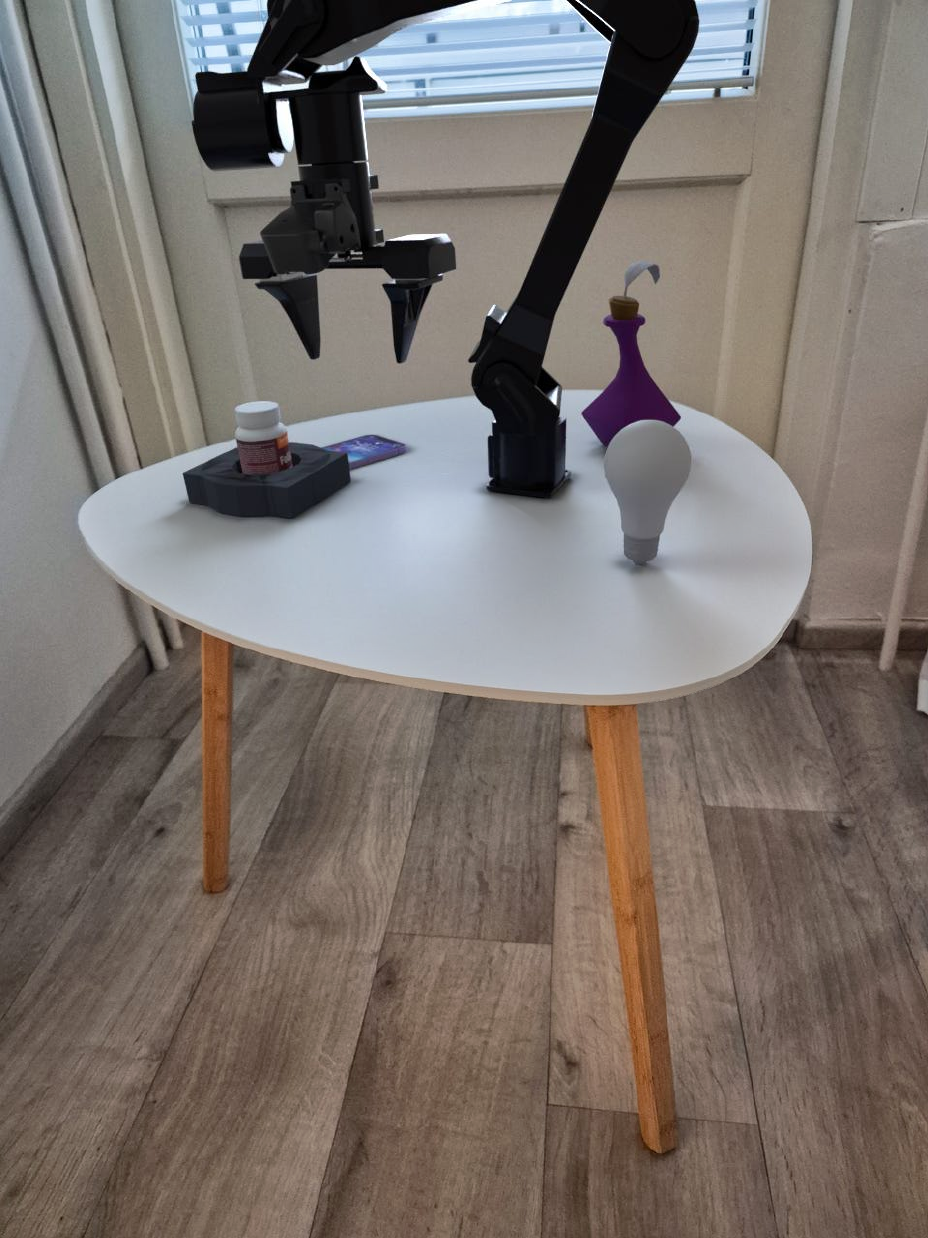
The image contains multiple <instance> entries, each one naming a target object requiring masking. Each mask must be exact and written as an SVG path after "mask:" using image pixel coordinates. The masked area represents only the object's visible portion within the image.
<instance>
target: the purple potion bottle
mask: <svg viewBox="0 0 928 1238" xmlns="http://www.w3.org/2000/svg"><path fill="white" fill-rule="evenodd" d="M646 270H647V271H648V272H649V274H650V275H651V278H652V280H653V282H654V284H655V285H656V284H657V283H658V282H659V279H660V277H661V272H660V267H659V264H655V263H653V262H649V261H635V262H633V263H631V264H630V265H629V266H627V268H626V270H625V273H624V277H623V278H624V291H623V295H612V296H611V297H610V298H609V299H608V304H609V310H610V314H608V315H606V316H605V317H604V318H603V321H602V323H603V325H604V326H605V327H607V328H610V330H611V332H612V334H613V335H614V336H615V339H616V342H617V344H618V351H619V367H618V370H617V372H616V374H615V377H614V378H613V379H612V380H611V382H610V383H609V384H608V385H607V386H606V388H605V389H603V391H602V392H601V393H600V394H599V395H598V396H597V397H596V398H595V399H594V400H593V401H592V402H591V403H589V404H588V405H587V407H585V408H584V409H583V410H582V411H581V412H580V413H581V416H582V417H583V419H584V420H585V422H586V423H587V425H588V426H589V428H590V429H591V430H592V432H593V433H594V435H595V436H596V438H597V439H598V440H599V442H600V443H601V445H604V446H606V447H608V446H609V444H610V442H611V440H612V439H613V438H614V436H615V435H616V434H617V433H618V432H619V431H620V430H621V429H623V428H624V427H626V426H628V425H629V424H632V423H634V422H637V421H641V420H658V421H662V422H665V423H667V424H669V425H671V426H673V427H674V428H675V426H676V425H677V424H678V423H679V422H680V420H681V419H682V416H681V414H680V413H679V412H678V410H677V409H676V408H675V407H674V405H673V404H672V402H671V401H670V400H669V399H668V398H667V396H666V395H665V394H664V392H663V391H662V390H661V388H660V387H659V386H658V385H657V383H656V382H655V380H654V379H653V377H652V376H651V375H650V373H649V371H648V369H647V367H646V365H645V363H644V360H643V357H642V355H641V351H640V347H639V343H638V332H639V330H640V327H641V326H644V325H645V324H646V317H645V316H644V315H642V314H639V309H640V302H639V301H638V300H637V299H636V298H634V297H632V296H627V293H628V288H629V286H630V285H632V284H633V282H634V281H635V280H636V279H637V278H638V277H640V276H641V274H642V273H643V272H644V271H646Z"/></svg>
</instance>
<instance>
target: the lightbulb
mask: <svg viewBox="0 0 928 1238" xmlns="http://www.w3.org/2000/svg"><path fill="white" fill-rule="evenodd" d="M691 470H692V453H691V449H690V445H689V444H688V442H687V440H686V438H685V437H684V435H683V434H682V433H681V432H680V430H678V429H677V428H675V426H674V427H673V426H671V425H669V424H667V423H665V422H662V421H658V420H641V421H637V422H634V423H632V424H629V425H628V426H626V427H624V428H623V429H621V430H620V431H619V432H618V433H617V434H616V435H615V436H614V438H613V439H612V440H611V442H610V444H609V446H607V448H606V451H605V454H604V458H603V471H604V475H605V479H606V482H607V484H608V486H609V488H610V490H611V492H612V494H613V496H614V497H615V499H616V502H617V505H618V508H619V514H620V528H621V531H622V533H623V555H624V556H625V558H627V559H628V560H630V561H632V562H633V563H634V564H635V565H636V564H637V565H644V564H646V563H648V562H651V561H652V560H654V559H655V558H656V557H657V556H658V552H659V546H660V538H661V534H663V532H664V530H665V524H666V520H667V519H666V518H667V516H668V513H669V510H670V508H671V506H672V504H673V502H674V501H675V500H676V499H677V497H678V495H679V494H680V492H681V491H682V490H683V488H684V486H685V485H686V483H687V482H688V480H689V476H690V474H691Z"/></svg>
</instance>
